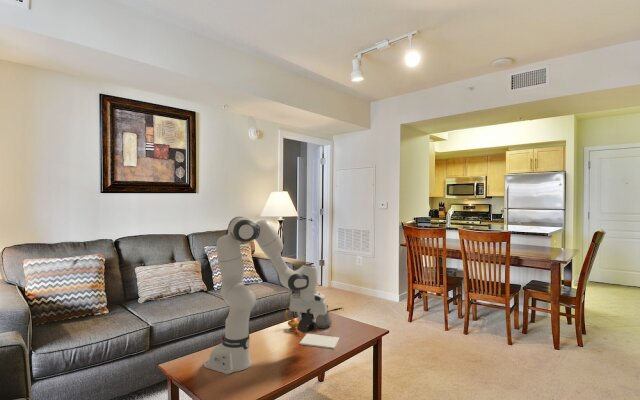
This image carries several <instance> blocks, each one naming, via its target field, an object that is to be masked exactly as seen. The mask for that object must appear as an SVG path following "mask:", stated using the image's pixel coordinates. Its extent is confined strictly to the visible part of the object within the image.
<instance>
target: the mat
mask: <svg viewBox="0 0 640 400" xmlns="http://www.w3.org/2000/svg"><path fill="white" fill-rule="evenodd" d="M340 338H341V337H338V336H329V335H321V334H314V333H305V335H304V337H303V338H302V339H301V341H300V342H299V345H302V346H310V347H318V348H324V349H325V348H326V349H333V350H335V349H336V347H337V345H338V343H339V341H340Z"/></svg>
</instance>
